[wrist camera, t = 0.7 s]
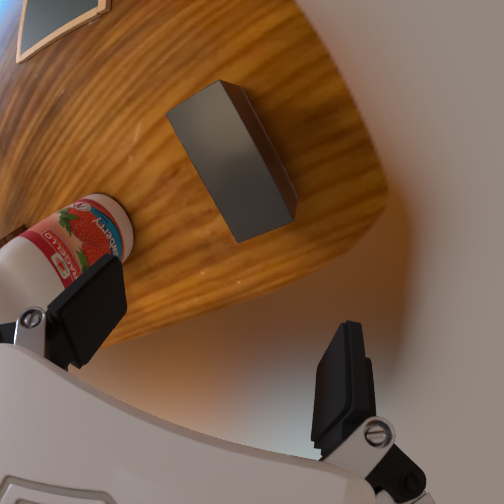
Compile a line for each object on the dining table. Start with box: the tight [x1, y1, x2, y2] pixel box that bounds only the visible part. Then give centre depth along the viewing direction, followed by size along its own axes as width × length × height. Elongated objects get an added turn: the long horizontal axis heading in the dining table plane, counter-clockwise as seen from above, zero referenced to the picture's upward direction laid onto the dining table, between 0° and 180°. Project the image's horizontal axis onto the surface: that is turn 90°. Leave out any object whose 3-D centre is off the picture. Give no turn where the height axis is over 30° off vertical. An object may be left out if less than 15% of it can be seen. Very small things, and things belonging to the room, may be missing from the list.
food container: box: [0, 225, 26, 249], centre depth 33 cm, size 12×6×10 cm, turn 109°
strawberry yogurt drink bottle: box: [0, 194, 134, 324], centre depth 19 cm, size 9×9×28 cm
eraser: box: [166, 80, 299, 243], centre depth 21 cm, size 11×5×6 cm, turn 28°
